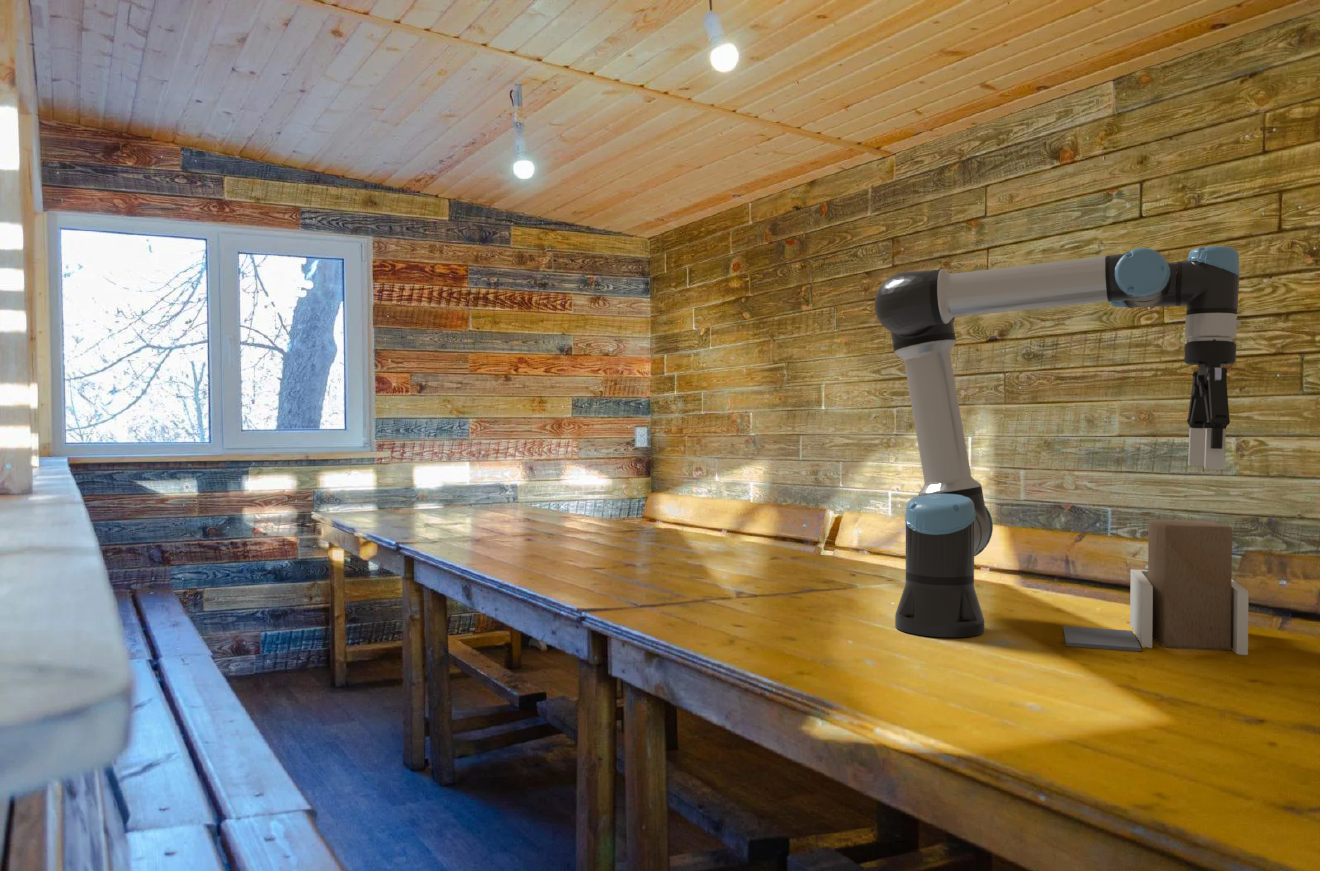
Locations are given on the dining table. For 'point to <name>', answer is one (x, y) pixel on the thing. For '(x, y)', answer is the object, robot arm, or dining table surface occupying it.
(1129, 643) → the mat
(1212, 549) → the wooden block
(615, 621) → the dining table surface
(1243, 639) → the white u-shaped bracket
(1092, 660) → the dining table surface
